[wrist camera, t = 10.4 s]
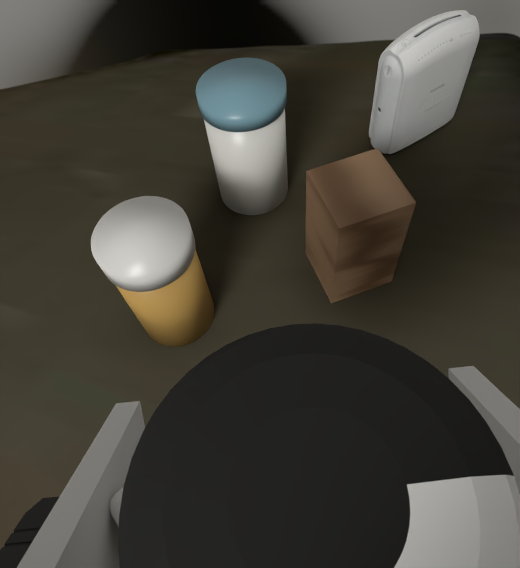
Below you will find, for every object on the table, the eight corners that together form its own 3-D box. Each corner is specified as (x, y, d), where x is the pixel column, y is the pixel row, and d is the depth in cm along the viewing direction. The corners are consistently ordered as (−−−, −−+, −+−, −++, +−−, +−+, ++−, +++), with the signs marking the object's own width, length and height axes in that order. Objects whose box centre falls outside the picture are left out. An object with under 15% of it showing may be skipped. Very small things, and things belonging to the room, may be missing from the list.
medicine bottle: (171, 524, 17) (-21, 460, 7) (316, 401, 19) (330, 210, 9) (299, 732, 14) (287, 1150, 4) (458, 559, 16) (726, 541, 6)
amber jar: (215, 276, 45) (189, 191, 35) (218, 344, 42) (190, 270, 31) (142, 284, 45) (96, 201, 35) (139, 352, 42) (85, 282, 32)
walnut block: (362, 233, 47) (377, 148, 37) (391, 281, 44) (416, 202, 34) (305, 252, 46) (306, 171, 36) (331, 303, 43) (339, 228, 33)
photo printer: (386, 161, 51) (408, 55, 41) (361, 139, 53) (375, 32, 43) (458, 121, 53) (496, 11, 43) (431, 101, 55) (461, -9, 45)
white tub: (285, 159, 52) (281, 53, 42) (293, 212, 48) (291, 110, 38) (217, 167, 53) (195, 63, 42) (219, 220, 49) (196, 121, 38)
